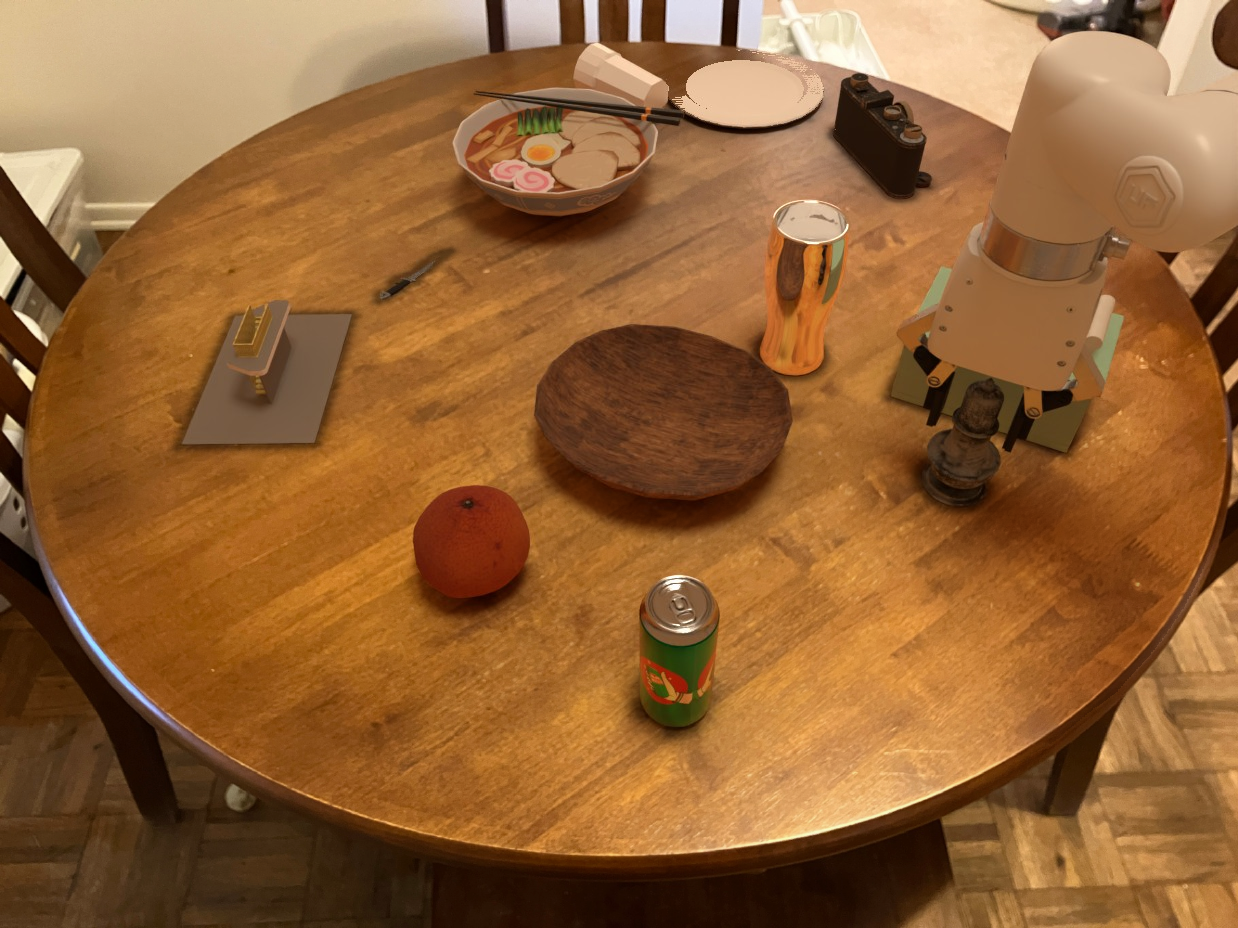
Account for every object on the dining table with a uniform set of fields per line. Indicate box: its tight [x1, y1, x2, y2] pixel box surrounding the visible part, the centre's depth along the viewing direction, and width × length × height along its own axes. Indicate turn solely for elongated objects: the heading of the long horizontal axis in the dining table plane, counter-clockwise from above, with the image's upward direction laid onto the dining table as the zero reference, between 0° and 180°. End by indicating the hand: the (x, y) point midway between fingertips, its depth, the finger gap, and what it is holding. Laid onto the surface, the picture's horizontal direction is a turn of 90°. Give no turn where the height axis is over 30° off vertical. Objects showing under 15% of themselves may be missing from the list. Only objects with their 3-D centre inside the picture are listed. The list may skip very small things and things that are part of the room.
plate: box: [668, 49, 825, 130], centre depth 127 cm, size 21×21×2 cm
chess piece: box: [921, 378, 1004, 508], centre depth 77 cm, size 6×6×12 cm
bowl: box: [533, 323, 794, 501], centre depth 84 cm, size 20×22×5 cm
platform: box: [181, 299, 353, 445], centre depth 90 cm, size 12×18×7 cm, turn 0°
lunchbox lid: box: [916, 265, 1125, 398], centre depth 83 cm, size 16×11×4 cm, turn 62°
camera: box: [832, 72, 933, 199], centre depth 113 cm, size 16×7×8 cm, turn 18°
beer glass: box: [759, 199, 852, 376], centre depth 87 cm, size 7×7×15 cm
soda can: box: [638, 574, 721, 728], centre depth 64 cm, size 5×5×12 cm
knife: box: [379, 259, 437, 301], centre depth 103 cm, size 10×2×1 cm, turn 139°
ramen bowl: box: [451, 87, 685, 217], centre depth 109 cm, size 25×23×8 cm
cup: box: [572, 42, 669, 116], centre depth 123 cm, size 7×7×11 cm
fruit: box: [412, 484, 531, 599], centre depth 74 cm, size 9×9×8 cm
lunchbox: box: [890, 344, 1093, 453], centre depth 87 cm, size 16×11×7 cm
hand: (972, 426), depth 77 cm, fingers open, 5 cm apart
